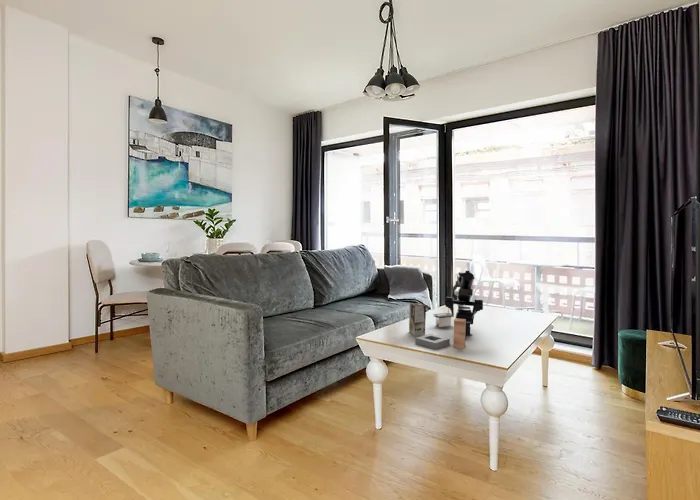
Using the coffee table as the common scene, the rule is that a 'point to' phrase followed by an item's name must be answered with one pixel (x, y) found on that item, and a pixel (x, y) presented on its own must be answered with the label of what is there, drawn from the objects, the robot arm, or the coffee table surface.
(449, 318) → the architectural model
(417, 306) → the coffee box
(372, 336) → the coffee table surface
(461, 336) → the peg
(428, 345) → the socket block
